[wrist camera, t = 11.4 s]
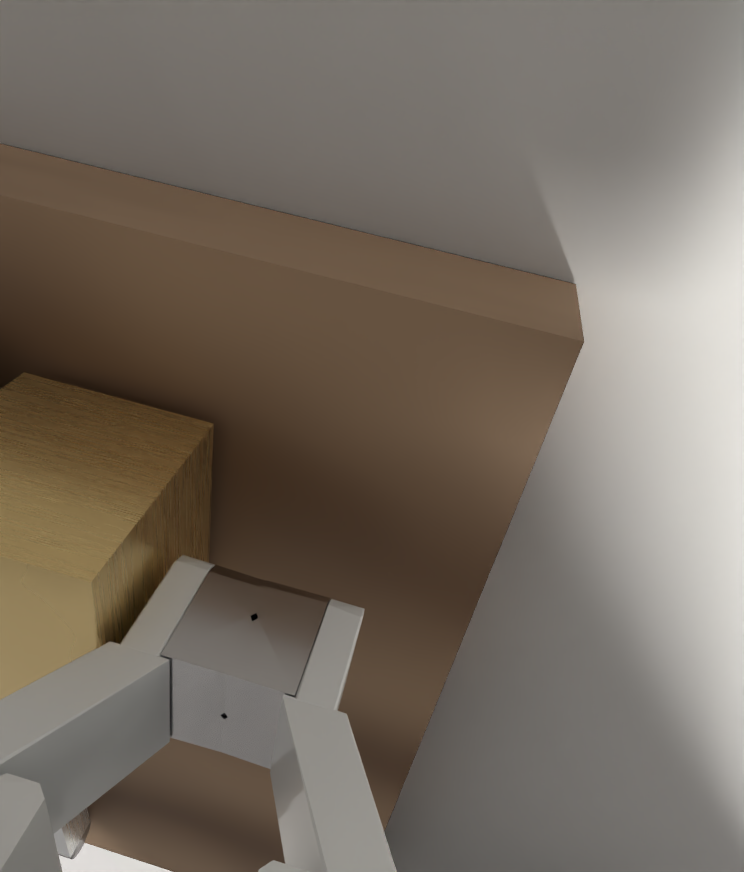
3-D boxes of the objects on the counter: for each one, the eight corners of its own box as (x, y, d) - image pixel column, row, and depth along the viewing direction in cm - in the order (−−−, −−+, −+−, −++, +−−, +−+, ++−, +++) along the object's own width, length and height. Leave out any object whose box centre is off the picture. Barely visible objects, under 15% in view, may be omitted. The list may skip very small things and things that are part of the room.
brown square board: (360, 856, 21) (345, 927, 19) (-139, 697, 22) (-192, 752, 21) (575, 283, 10) (584, 341, 8) (-480, 26, 11) (-659, 29, 9)
